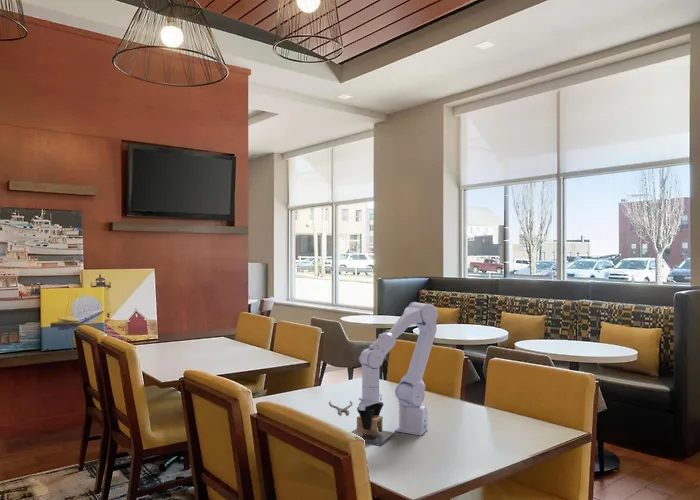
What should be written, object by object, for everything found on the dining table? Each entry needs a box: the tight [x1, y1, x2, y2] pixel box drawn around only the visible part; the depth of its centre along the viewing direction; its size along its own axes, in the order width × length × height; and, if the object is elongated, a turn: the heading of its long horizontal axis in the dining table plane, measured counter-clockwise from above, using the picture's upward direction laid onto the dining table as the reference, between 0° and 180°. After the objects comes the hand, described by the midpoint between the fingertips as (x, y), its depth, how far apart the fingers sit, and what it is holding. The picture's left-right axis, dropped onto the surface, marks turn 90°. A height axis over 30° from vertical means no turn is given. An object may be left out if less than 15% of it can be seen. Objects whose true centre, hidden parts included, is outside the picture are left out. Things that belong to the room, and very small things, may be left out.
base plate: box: [351, 427, 396, 446], centre depth 177 cm, size 13×11×4 cm
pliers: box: [328, 400, 353, 416], centre depth 212 cm, size 10×1×20 cm
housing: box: [356, 415, 383, 436], centre depth 178 cm, size 7×5×5 cm
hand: (370, 426), depth 177 cm, fingers closed on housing, 5 cm apart
